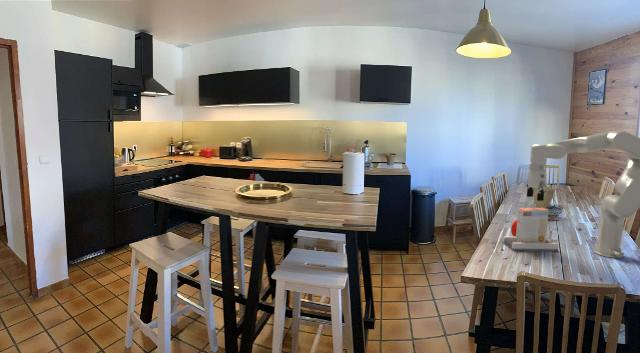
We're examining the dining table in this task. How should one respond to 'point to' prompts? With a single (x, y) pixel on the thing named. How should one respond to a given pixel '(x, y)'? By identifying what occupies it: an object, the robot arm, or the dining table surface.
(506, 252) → the dining table surface
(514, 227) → the apple
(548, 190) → the plant pot
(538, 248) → the shallow gray tray
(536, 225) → the cracker box
